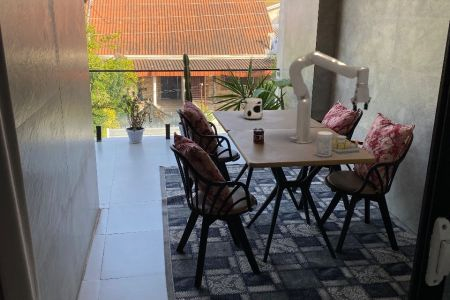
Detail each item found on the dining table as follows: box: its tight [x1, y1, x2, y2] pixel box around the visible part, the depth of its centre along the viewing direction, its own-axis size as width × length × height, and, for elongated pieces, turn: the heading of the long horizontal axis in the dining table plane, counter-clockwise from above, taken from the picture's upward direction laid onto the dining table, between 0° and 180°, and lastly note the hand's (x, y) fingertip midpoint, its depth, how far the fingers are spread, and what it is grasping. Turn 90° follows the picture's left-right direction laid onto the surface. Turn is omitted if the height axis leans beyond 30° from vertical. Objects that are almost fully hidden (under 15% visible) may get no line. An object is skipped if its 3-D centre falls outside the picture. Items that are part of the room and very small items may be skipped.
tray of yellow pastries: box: [332, 135, 360, 155], centre depth 296 cm, size 16×20×9 cm
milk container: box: [243, 97, 264, 121], centre depth 395 cm, size 17×17×18 cm
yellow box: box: [332, 138, 359, 149], centre depth 295 cm, size 17×12×5 cm
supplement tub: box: [315, 131, 333, 158], centre depth 281 cm, size 10×10×15 cm
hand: (360, 110), depth 302 cm, fingers open, 9 cm apart
